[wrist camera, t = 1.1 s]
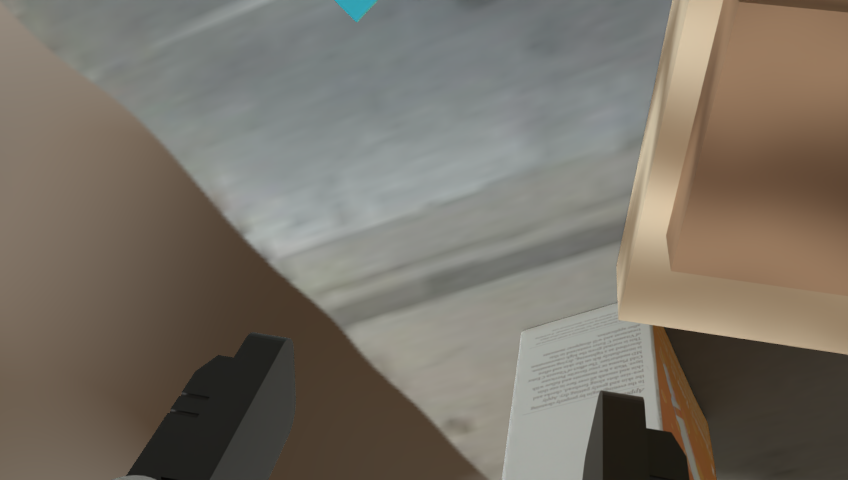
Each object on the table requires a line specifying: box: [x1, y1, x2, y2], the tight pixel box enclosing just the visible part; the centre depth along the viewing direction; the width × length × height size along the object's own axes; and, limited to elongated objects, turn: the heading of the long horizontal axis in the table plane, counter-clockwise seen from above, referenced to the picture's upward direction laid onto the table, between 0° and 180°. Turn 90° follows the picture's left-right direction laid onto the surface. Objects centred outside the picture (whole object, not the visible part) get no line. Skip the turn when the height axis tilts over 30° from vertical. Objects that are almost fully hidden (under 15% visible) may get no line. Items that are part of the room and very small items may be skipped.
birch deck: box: [617, 0, 848, 355], centre depth 28 cm, size 17×12×4 cm
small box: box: [502, 303, 717, 480], centre depth 32 cm, size 8×6×13 cm
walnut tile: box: [666, 0, 848, 296], centre depth 25 cm, size 9×6×2 cm, turn 177°
